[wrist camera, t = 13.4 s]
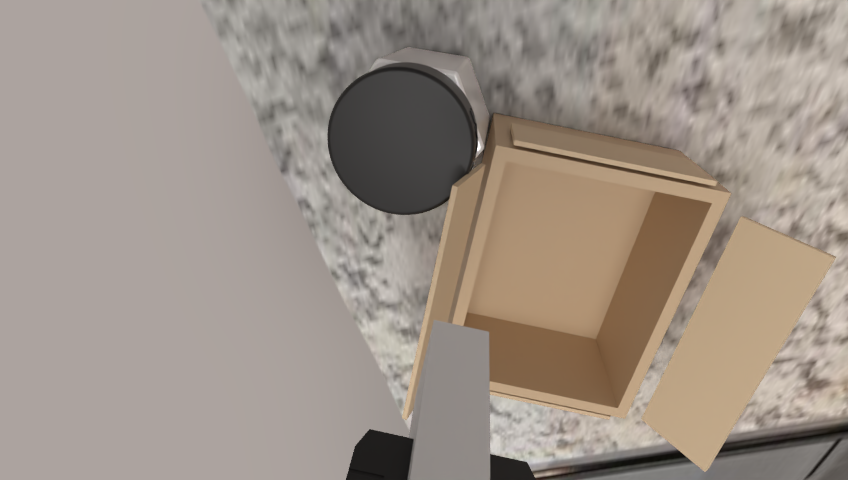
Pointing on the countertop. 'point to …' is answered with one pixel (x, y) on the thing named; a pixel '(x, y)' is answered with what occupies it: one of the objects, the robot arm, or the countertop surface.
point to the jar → (408, 130)
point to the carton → (579, 261)
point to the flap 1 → (446, 267)
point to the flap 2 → (734, 337)
